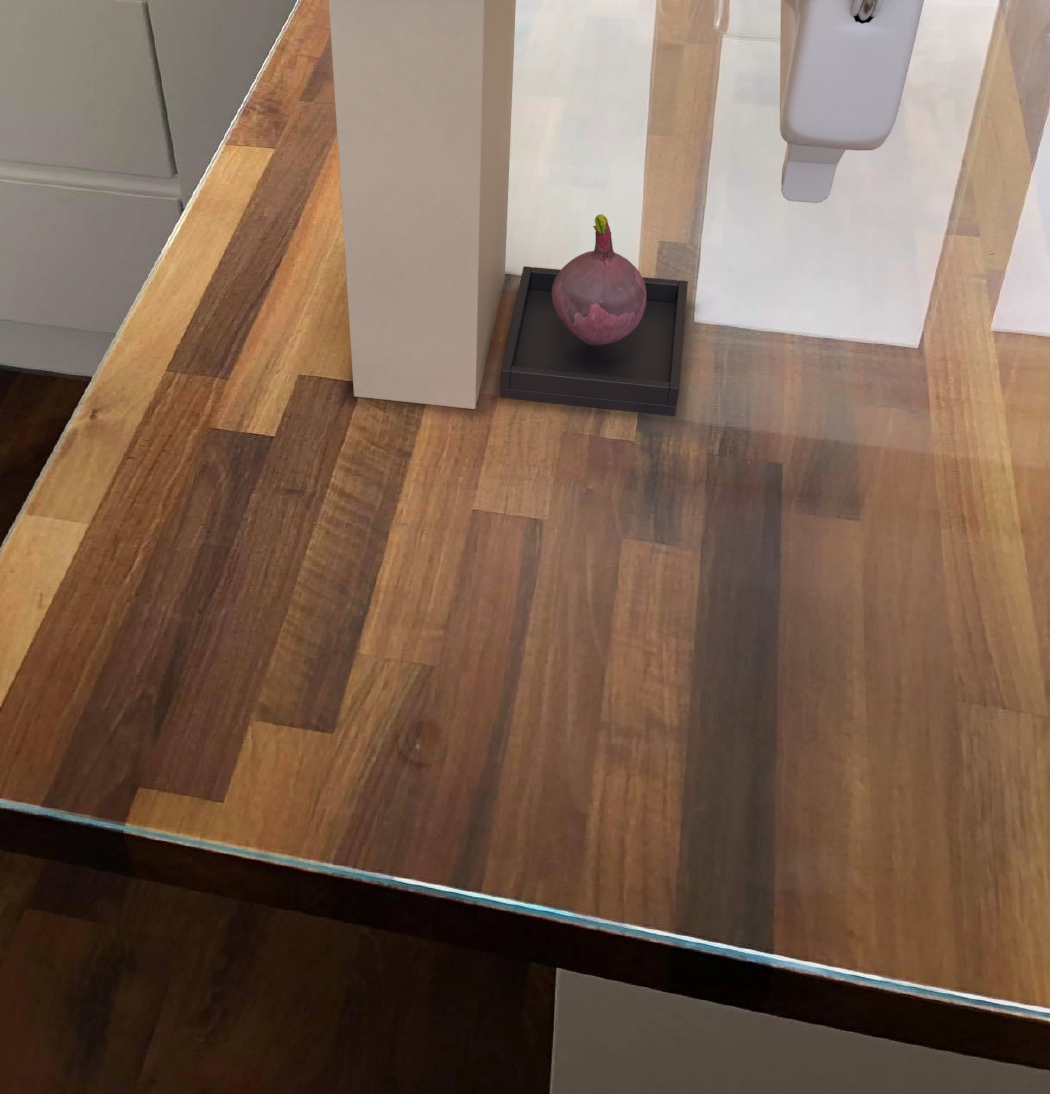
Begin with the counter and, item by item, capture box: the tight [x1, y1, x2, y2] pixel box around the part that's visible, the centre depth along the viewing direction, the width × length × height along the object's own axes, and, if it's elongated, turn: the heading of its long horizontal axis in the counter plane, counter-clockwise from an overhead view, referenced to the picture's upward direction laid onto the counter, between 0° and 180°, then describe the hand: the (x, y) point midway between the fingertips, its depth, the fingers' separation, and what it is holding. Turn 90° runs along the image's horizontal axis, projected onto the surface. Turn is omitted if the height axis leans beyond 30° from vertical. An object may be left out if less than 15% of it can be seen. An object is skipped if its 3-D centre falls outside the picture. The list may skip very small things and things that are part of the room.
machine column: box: [328, 0, 517, 410], centre depth 83 cm, size 9×15×30 cm, turn 169°
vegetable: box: [552, 213, 646, 346], centre depth 88 cm, size 6×6×10 cm
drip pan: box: [499, 265, 689, 417], centre depth 91 cm, size 11×11×2 cm
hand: (802, 127), depth 56 cm, fingers open, 8 cm apart
